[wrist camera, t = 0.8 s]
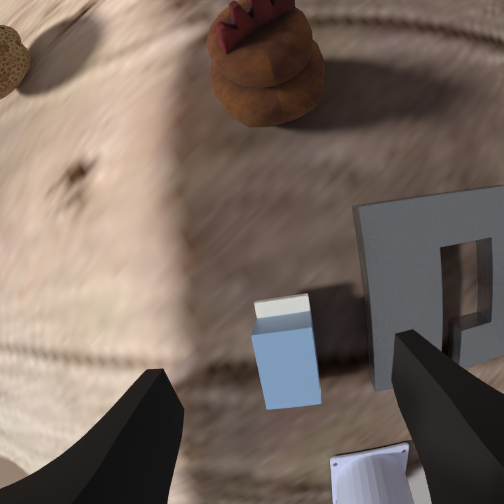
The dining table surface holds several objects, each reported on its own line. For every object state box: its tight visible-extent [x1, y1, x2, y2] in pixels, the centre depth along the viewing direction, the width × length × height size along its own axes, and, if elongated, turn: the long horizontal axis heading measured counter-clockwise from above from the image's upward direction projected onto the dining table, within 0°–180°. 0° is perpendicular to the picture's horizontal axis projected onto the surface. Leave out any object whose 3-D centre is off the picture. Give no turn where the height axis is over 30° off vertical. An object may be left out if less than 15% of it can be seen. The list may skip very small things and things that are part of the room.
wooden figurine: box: [207, 0, 326, 127], centre depth 15 cm, size 7×6×15 cm
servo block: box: [251, 293, 321, 410], centre depth 22 cm, size 8×4×6 cm, turn 11°
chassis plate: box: [352, 185, 504, 392], centre depth 21 cm, size 14×16×2 cm
